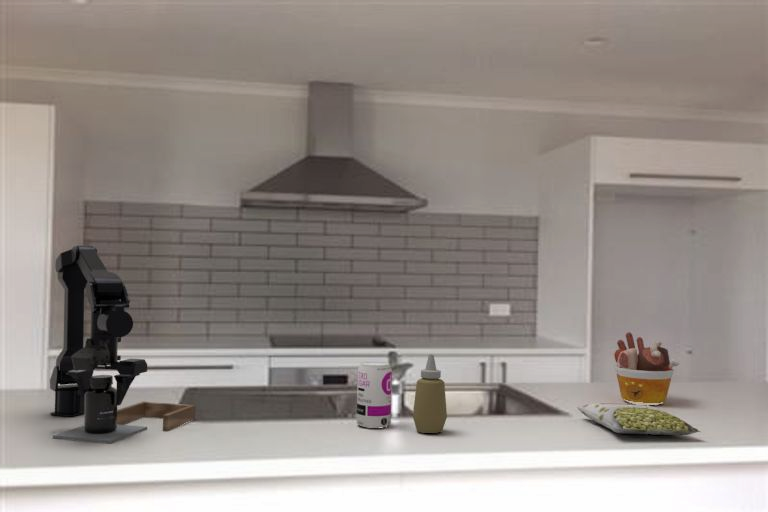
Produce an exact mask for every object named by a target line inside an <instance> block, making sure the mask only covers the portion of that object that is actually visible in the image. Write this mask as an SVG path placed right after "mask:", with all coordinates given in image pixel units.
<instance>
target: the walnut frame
mask: <svg viewBox="0 0 768 512" xmlns="http://www.w3.org/2000/svg"><path fill="white" fill-rule="evenodd" d="M142 417H143V418H152V417H155V419H162V431H163V432H168V431H171V430H174V429H177V428H178V426H179V427H180V425H181V426H183V425H182V424H184V423H186V422H188V421H191V420H193V421H195V420H196V405H195V404H182V403H181V404H180V403H169V402H154V401H141V402H138V403H134V404H132V405H128V406H125V407H121V408H119V409H118V408H117V424H119V425H127V424H128V423H131V421H132V422H134V420H135V421H137V419H138V420H140V419H142ZM139 418H140V419H139ZM191 422H192V421H191ZM188 423H189V422H188ZM186 424H187V423H186ZM184 425H185V424H184Z"/></svg>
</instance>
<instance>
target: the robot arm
mask: <svg viewBox="0 0 768 512" xmlns="http://www.w3.org/2000/svg"><path fill="white" fill-rule="evenodd" d="M54 266H55V273H57V280H58V281H59V283H60V285H61V286H62V288H63V290H64V291H63V292H64V293H63V294H64V301H63V305H64V306H63V348H62V350H61V352H59V354H58V355H57V357H56V359H55V366H54V368H53V369H52V374H51V376H50V379H49V389H50V390H52V391H53V392H54V397H55V398H54V411H51V412H50V413H49V415H51V416H61V417H62V416H63V417H75V416H79V415H82V414H84V400H85V392H86V391H87V390H88V389H89V388H90V385H89V383H90V377H91V376H94V370H96V369H101V370H113V371H117V372H118V373H119V374H114V375H113V377H114V380H115V381H116V388H115V389H116V404H117V407H118V406H121V405H122V402H123V401H124V399H125V397H126V395H127V393H128V390H130V389H129V388H130V387H131V385H132V383H133V382H134V380H135V379H136V377H137V376H140V374H143V373H146V372H148V363H147V361H146V360H145V358H127V359H121V358H122V356H121V355H118V346H119V345H118V343H121V342H122V338H124V337H126V336H127V335H129V334H130V332H131V331H132V330H133V328H134V321H133V317H132V316H131V314H130V313H129V312H127V311H125V309H128V308H130V302H131V299H130V296H129V293H128V290H127V287H126V284H125V283H124V281H123V279H122V278H121V277H120V276H119V275H118V274H117V273H115V272H111V271H109V270H108V269H107V268H106V265H105V264H104V263H103V261H102V260H101V258H100V256H99V254H98V249H97V247H96V246H93V245H78V244H77V245H74V246H73V247H72V248H71V249H69V250H66V251H63V252H61V253H59V255H58V256H57V257H56V258H55V265H54ZM85 297H86V299H87V301H88V304H89V306H90V337H89V338H86V340H85V345H84V338H85V337H84V335H85V334H84V330H85V328H84V327H85Z"/></svg>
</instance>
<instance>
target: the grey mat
mask: <svg viewBox="0 0 768 512" xmlns="http://www.w3.org/2000/svg"><path fill="white" fill-rule="evenodd" d="M147 430H148V426H142V425H129V424H128V425H127V424H123V425H119V424H117V428H116V430H114V431H112V432H107V433H87V432H86V431H85V430H84V425H81V426H78V427H76V428H71V429H69V430H66V431H62V432H59V433H57V434H53V435H52V439H56V440H66V441H67V440H68V441H77V442H78V441H81V442H91V443H101V444H113V443H115V442H119V441H121V440H124V439H127V438H128V437H131V436H134V435H137V434H139V433H142V432H145V431H147Z"/></svg>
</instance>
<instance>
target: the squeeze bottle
mask: <svg viewBox="0 0 768 512" xmlns="http://www.w3.org/2000/svg"><path fill="white" fill-rule="evenodd" d="M441 373H442V371H441V370H439V369H437V365H436V360H435V356H434V354H428V356H427V360H426V364H425V369H424V368H422V369H421V370H420V377H421V378H418V380H417V381H416V386H415V393H414V403H413V410H412V412H413V413H412V418H413V421H414V425H415V429H416V431H417V432H418V433H420V432H421V433H420V434H424V433H438V432H441V431H442V432H443V429H444V427H445V425H446V420H447V418H448V414H447V413H448V412H447V399H446V398H447V397H446V387H445V386H446V385H445V381H444V380H443V379H441V377H442V376H441V375H442V374H441ZM442 432H441V433H442ZM438 434H439V433H438Z"/></svg>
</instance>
